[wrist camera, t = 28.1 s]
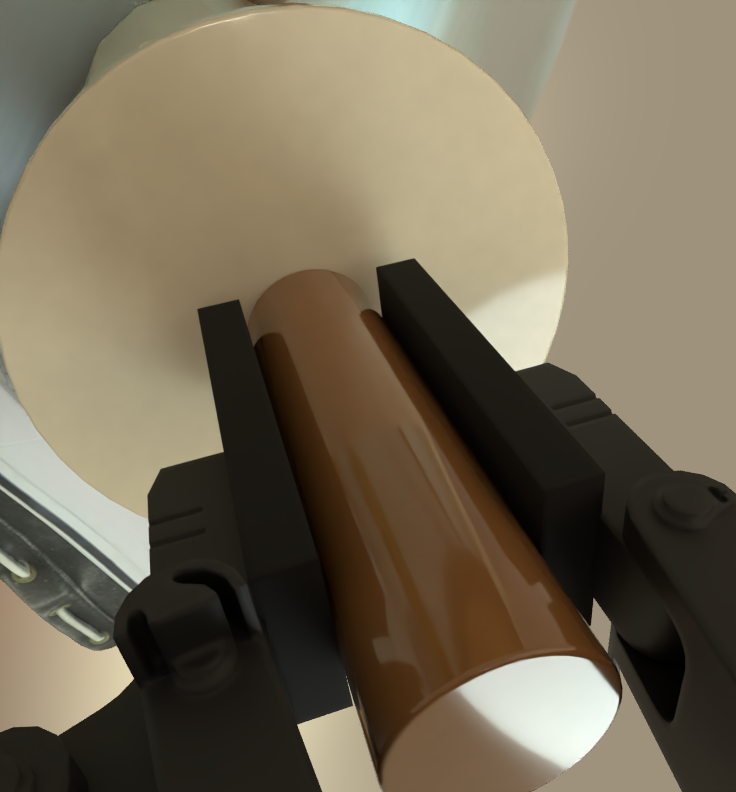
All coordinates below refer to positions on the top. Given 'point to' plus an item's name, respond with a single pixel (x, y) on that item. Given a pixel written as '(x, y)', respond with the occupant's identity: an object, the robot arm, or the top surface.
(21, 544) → the boat shoe
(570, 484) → the robot arm
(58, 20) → the top surface
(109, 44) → the pot
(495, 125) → the lid
